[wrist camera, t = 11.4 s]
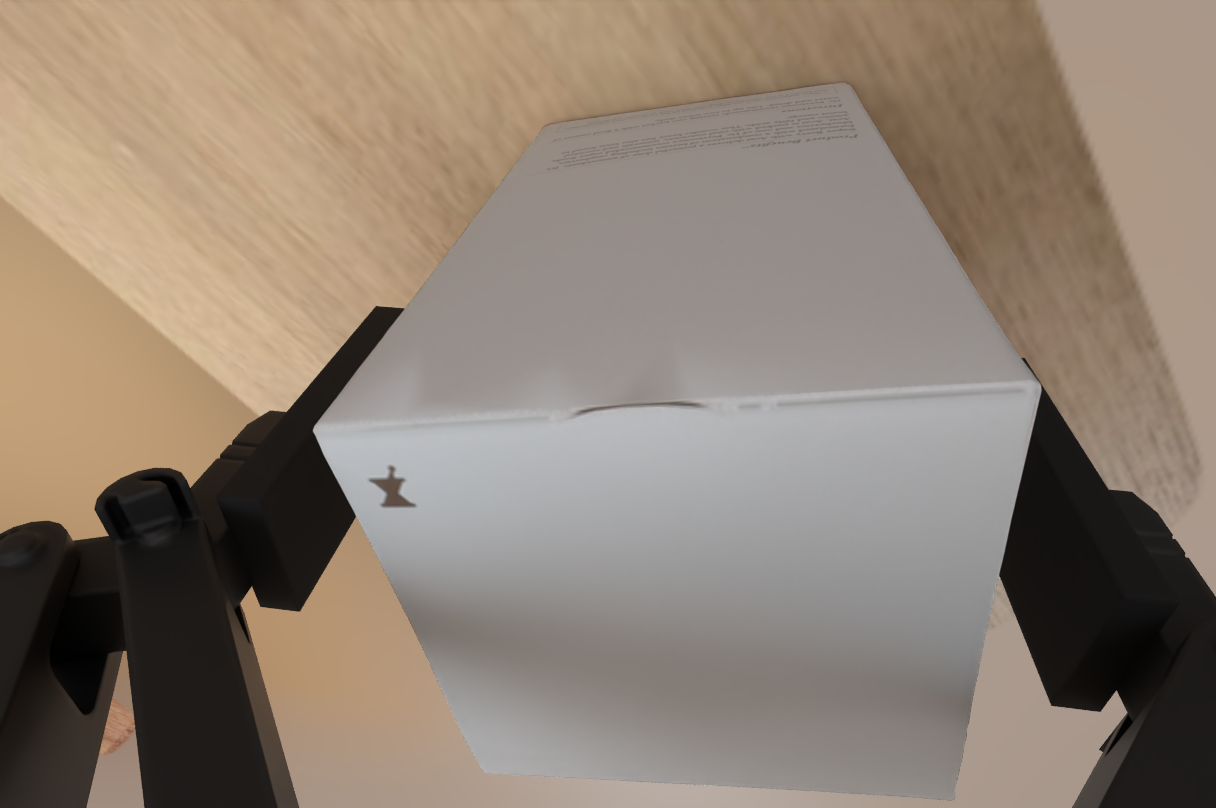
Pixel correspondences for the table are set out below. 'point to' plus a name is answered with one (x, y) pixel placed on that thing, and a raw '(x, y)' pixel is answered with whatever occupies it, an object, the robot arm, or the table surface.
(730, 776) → the rectangular carton
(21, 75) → the table surface
